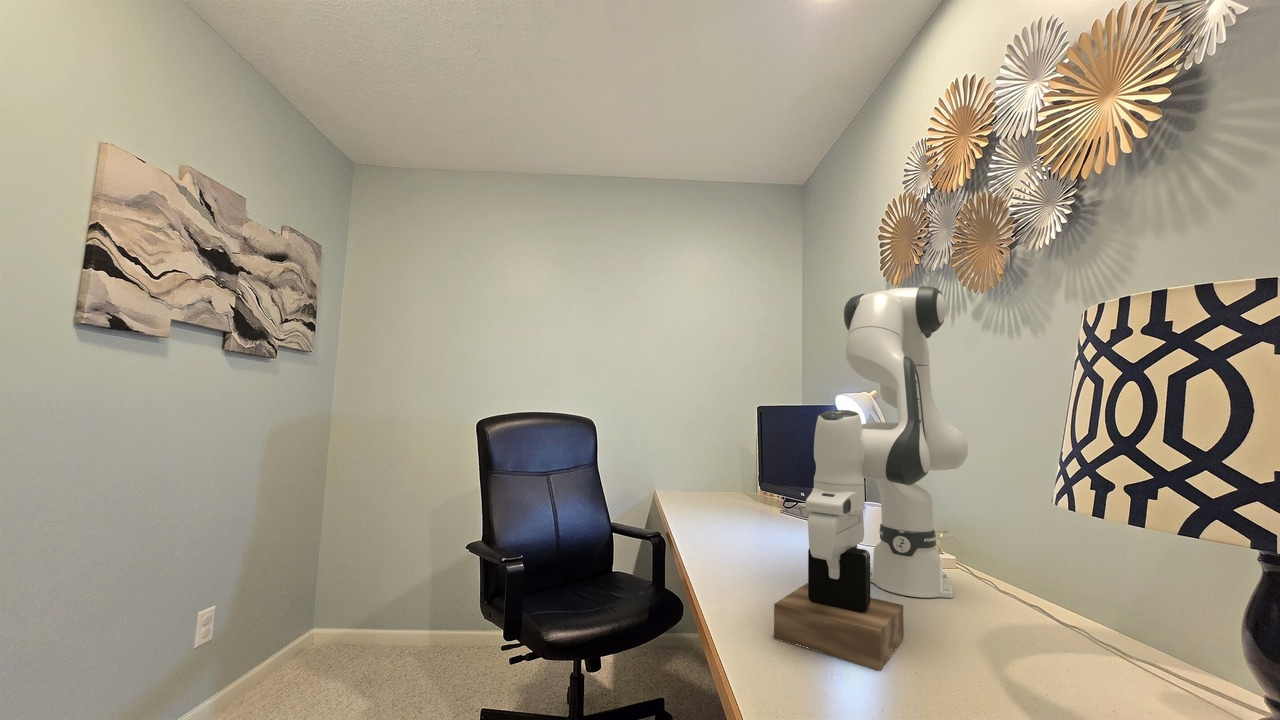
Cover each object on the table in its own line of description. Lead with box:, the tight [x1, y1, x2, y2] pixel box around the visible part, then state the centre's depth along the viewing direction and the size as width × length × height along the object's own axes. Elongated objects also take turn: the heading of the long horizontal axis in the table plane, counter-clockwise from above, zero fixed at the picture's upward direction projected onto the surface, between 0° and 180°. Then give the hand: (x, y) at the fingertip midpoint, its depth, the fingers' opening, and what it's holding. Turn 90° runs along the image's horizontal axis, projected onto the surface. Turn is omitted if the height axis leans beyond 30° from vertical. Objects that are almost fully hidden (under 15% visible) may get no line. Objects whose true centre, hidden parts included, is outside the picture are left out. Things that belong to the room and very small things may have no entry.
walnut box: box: [773, 582, 905, 672], centre depth 97 cm, size 16×18×6 cm
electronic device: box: [807, 547, 871, 613], centre depth 98 cm, size 4×10×10 cm, turn 57°
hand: (839, 575), depth 98 cm, fingers open, 3 cm apart
